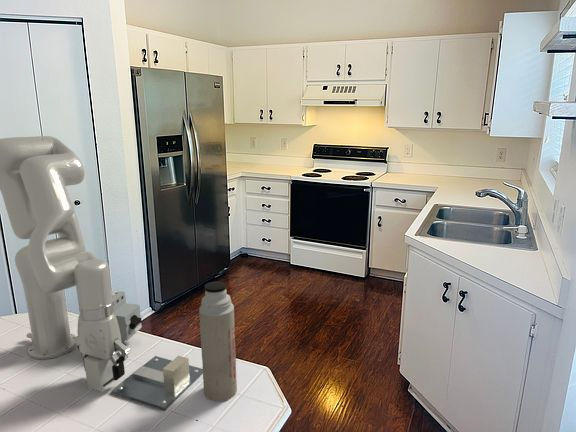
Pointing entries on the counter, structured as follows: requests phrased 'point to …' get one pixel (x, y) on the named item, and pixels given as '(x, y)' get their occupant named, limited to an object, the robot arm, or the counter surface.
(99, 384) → the block
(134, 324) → the circuit breaker
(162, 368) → the mounting plate
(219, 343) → the thermos bottle
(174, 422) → the counter surface
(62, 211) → the robot arm
